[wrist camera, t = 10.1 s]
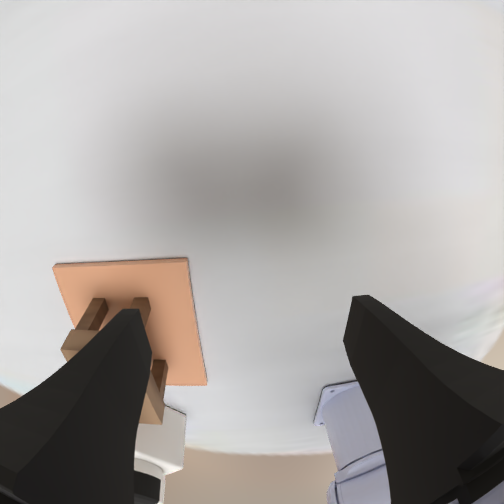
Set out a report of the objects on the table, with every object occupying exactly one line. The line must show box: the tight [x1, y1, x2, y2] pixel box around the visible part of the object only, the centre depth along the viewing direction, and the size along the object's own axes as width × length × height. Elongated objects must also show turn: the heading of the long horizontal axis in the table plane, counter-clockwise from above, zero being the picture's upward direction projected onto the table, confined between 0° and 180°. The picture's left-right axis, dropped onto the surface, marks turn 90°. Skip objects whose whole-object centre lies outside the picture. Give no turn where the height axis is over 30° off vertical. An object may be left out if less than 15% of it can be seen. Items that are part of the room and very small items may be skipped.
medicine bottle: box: [134, 406, 186, 504], centre depth 22 cm, size 7×7×12 cm
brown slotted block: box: [61, 297, 168, 425], centre depth 19 cm, size 5×8×6 cm, turn 1°
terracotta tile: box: [52, 258, 207, 386], centre depth 22 cm, size 11×13×1 cm
